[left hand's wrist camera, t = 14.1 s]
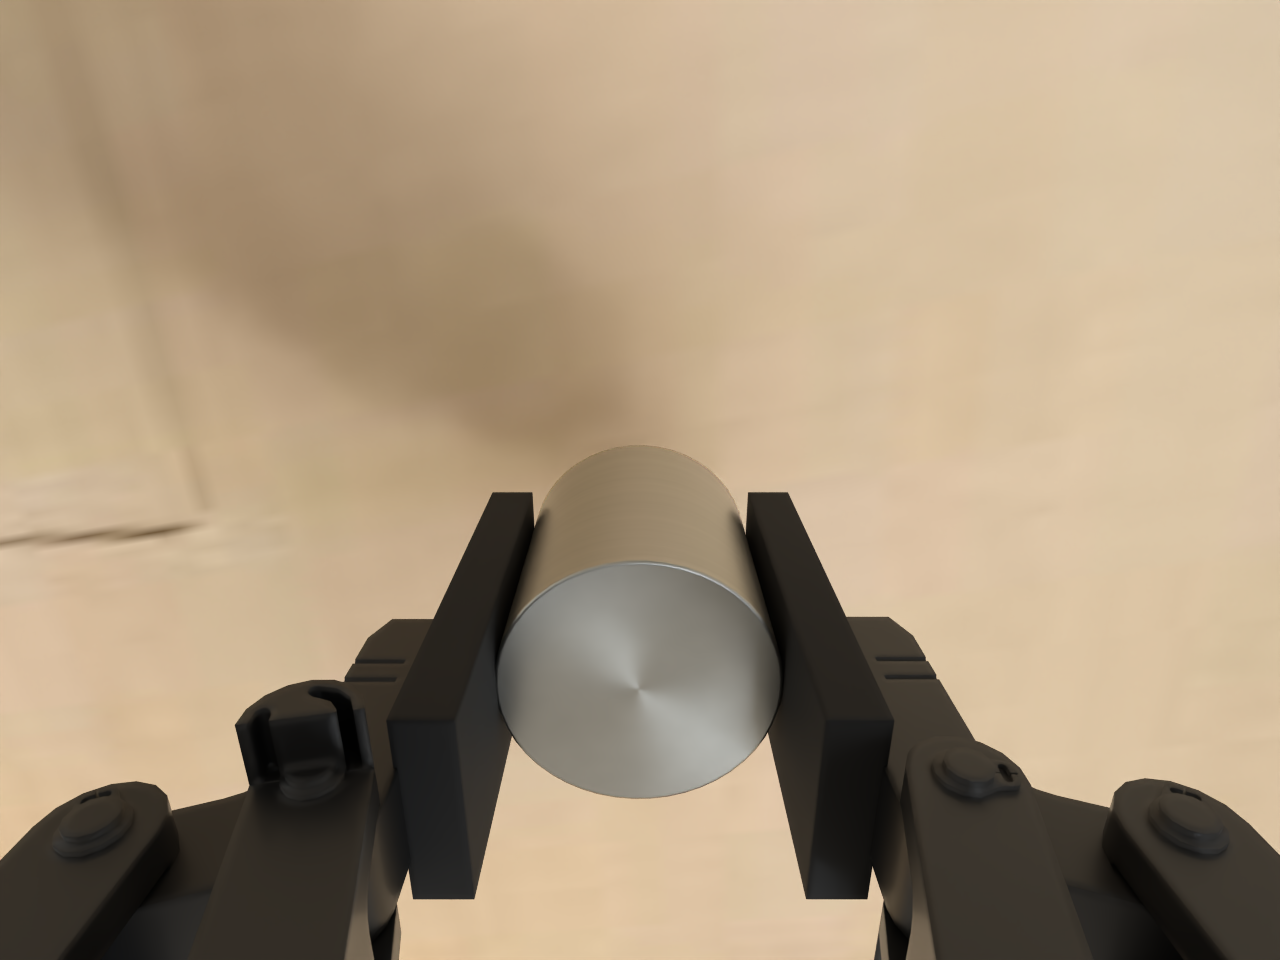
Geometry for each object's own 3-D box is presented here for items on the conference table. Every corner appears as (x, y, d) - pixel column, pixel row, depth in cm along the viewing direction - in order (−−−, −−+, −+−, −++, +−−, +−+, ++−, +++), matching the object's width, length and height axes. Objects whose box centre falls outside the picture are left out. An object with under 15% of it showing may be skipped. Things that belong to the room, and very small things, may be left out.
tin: (549, 637, 16) (516, 808, 12) (521, 453, 14) (471, 573, 10) (746, 623, 16) (786, 790, 11) (739, 435, 14) (781, 549, 10)
